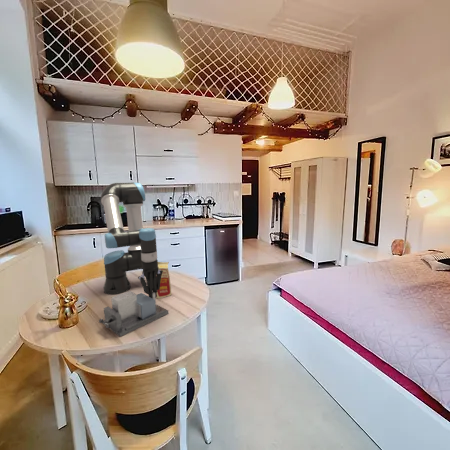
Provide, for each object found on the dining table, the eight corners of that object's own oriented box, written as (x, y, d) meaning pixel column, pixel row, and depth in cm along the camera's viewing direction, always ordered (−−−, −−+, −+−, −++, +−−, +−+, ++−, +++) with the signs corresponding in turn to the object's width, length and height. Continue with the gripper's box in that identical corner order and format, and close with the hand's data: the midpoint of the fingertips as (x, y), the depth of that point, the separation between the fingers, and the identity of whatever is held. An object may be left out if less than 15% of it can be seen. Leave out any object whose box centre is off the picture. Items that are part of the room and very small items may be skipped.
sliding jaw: (128, 311, 126) (127, 298, 125) (142, 305, 132) (141, 292, 130) (141, 319, 118) (140, 305, 117) (155, 313, 124) (154, 299, 123)
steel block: (113, 321, 118) (111, 297, 115) (131, 314, 124) (129, 290, 122) (120, 326, 114) (117, 301, 112) (138, 318, 120) (136, 294, 118)
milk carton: (157, 298, 144) (155, 264, 140) (153, 292, 152) (151, 260, 148) (173, 295, 148) (171, 261, 144) (169, 289, 156) (167, 257, 152)
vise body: (95, 327, 116) (93, 309, 115) (150, 303, 138) (149, 289, 136) (111, 340, 106) (109, 322, 104) (168, 313, 127) (167, 297, 126)
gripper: (142, 265, 118) (146, 312, 122) (165, 258, 128) (168, 301, 132) (133, 261, 123) (137, 307, 127) (156, 255, 132) (159, 297, 137)
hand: (153, 304), depth 129 cm, fingers closed
